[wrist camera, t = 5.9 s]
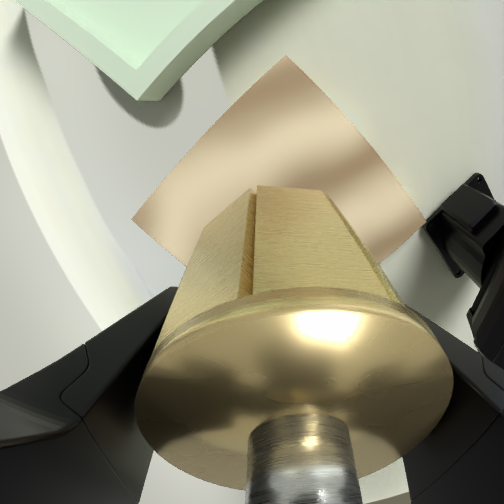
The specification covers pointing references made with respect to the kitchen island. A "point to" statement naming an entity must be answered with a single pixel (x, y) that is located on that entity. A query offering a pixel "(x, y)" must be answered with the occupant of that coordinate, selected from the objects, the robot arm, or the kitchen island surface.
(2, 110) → the kitchen island surface
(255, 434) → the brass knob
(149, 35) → the bin
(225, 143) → the stud plate
